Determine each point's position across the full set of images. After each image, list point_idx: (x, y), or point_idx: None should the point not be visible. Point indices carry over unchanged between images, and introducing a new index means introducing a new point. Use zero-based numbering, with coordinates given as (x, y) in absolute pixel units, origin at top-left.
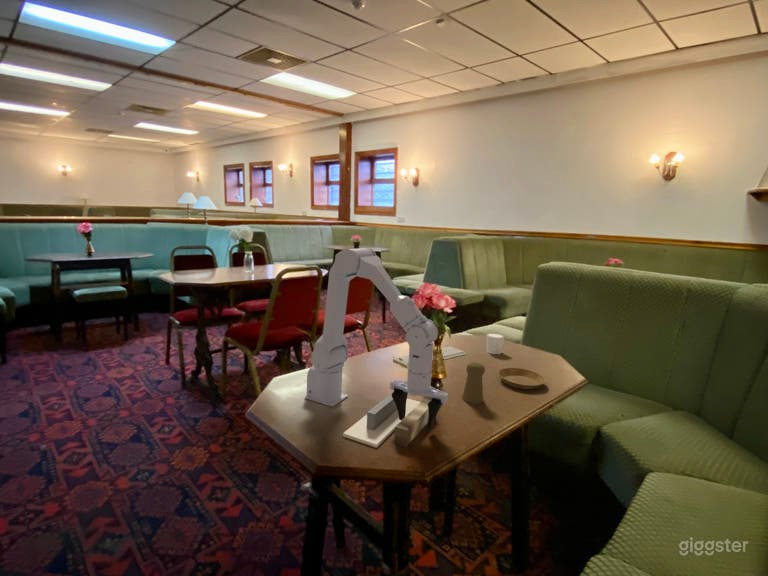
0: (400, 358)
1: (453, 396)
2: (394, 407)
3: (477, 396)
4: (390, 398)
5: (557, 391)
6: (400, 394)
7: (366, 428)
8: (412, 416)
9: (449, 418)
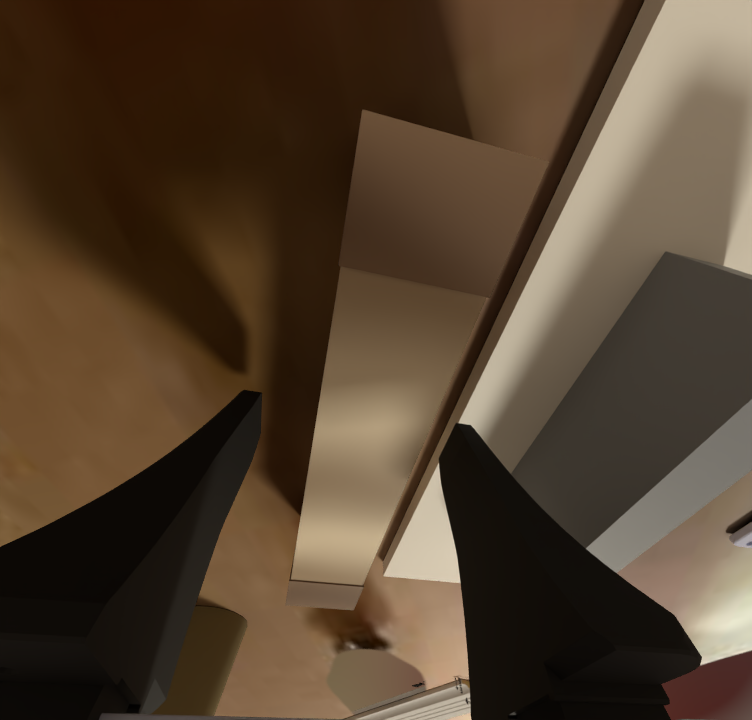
0: None
1: (278, 619)
2: None
3: None
4: None
5: None
6: (575, 675)
7: (723, 264)
8: (376, 438)
9: (228, 517)
